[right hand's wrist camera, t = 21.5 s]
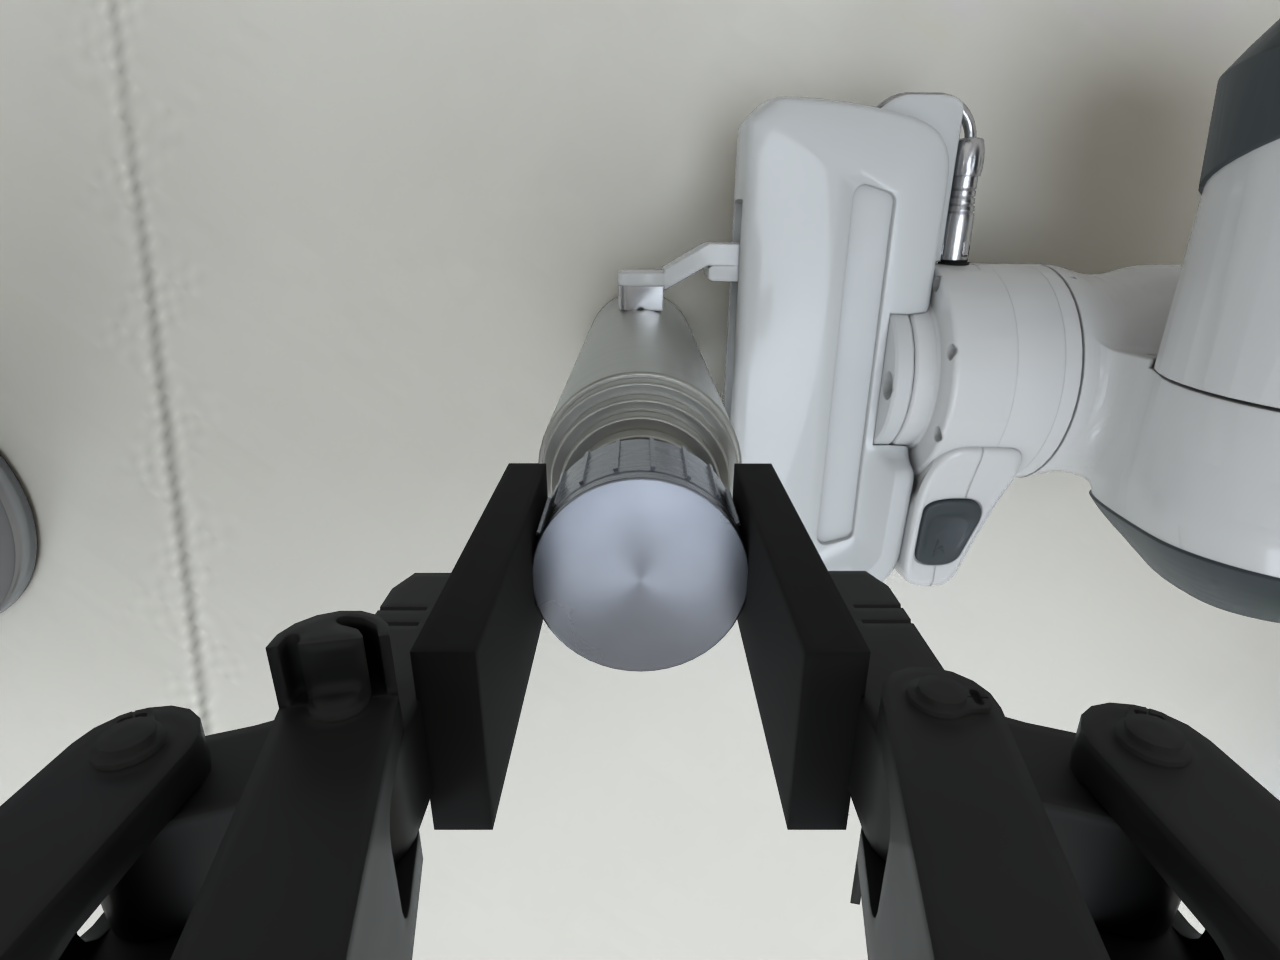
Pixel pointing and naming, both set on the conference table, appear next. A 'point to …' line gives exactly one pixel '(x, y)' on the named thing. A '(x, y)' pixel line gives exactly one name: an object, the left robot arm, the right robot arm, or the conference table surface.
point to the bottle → (640, 394)
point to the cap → (640, 557)
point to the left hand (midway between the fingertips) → (618, 370)
